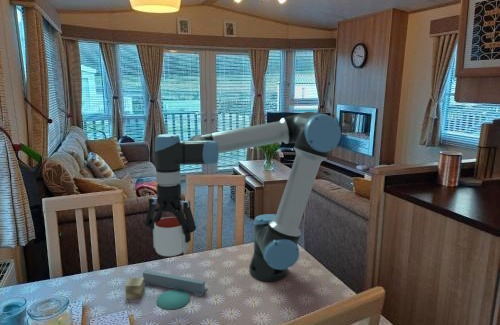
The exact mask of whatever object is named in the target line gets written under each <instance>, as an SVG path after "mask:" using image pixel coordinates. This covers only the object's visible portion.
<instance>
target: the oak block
mask: <svg viewBox="0 0 500 325" xmlns="http://www.w3.org/2000/svg"><path fill="white" fill-rule="evenodd" d="M124 287H125V299H126V300H142V298H143V296H144V294H145V291H146V288H145V287H146V286H145V285H144V278H143V277H130V278H129V279H128V280H127V282H126V284H125V286H124Z"/></svg>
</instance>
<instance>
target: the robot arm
mask: <svg viewBox="0 0 500 325" xmlns="http://www.w3.org/2000/svg"><path fill="white" fill-rule="evenodd" d="M341 134H342V133H341V127H340V125H339V123H338V121H337V120H336V119H335V118H334V117H332V116H331V115H330V114H329V115H328V114H326V113H323V112H314V111H304V112H301V113H297V114H294V115H290V116H285V117H281V118H280V120H278V121H272V122H267V123H262V124H257V125H251V126H246V127H240V128H235V129H229V130H223V131H218V132H217V131H216V132H212V133H207V134H195V135H193V136H191V138H189V140H181V139H180V136H179V135H178V134H175V133H174V134H172V133H164V134H163V133H162V134H158V135H156V136H155V138H154V156H155V158H154V159H155V179H156V180H155V181H156V195H157V197H156V196H153V197H151V198H149V199H148V209H147V213H146V218H145V223H144V226H145V227H149V228H150V235H151V238H153V239H152V241H153V248H154V249H155V232H154V223H155V222H158V221H159V220H160V219H162V218H163V215H164V214H165V213H167V212H168V213H171V214H172V215H173V216H174V217H176V218H177V220H178V222H179V223H180V225H182V229H183V231H184V233H182V248H183V252H182V253H184V254H185V253H186V252H188V251H189V246H190V245H189V243H190V242H191V234H192V233H193V232H195V231H196V230H197V225H196V223H195V219H194V217H193V212H192V208H191V201H190V200H187V201H185V200H182V184H181V180H182V179H181V166H185V165H187V166H189V165H194V166H197V165H198V166H200V165H206V166H209V165H214V164H215V165H216V164H217V163H218V161H219V155H220V154H223V153H230V152H234V151H239V150H246V149H249V148H251V149H252V148H257V147H261V146H266V145H272V144H273V145H274V144H277V143H284V144H286V145H287V144H294V146H293V149H294V151H295V158H294V160H293V163H292V166H291V169H290V173H289V176H288V179H287V181H286V184H285V188H284V190H283V192H282V197H281V199H280V202H279V206H278V207H277V208H278V209H277V212H276V214H274V213H269V214H268V213H265V214H259V215H257V216H255V218H254V224H253V229H254V230H253V232H254V233H253V235H254V236H253V240H254V241H253V255H252V257H251V260H250V263H249V266H248V267H249V274H250V275H251V277H253V278H254V279H257V280H259V281H263V282H276V281H280V280H283V279H284V278H285V277H287V276H288V274H289V273H288V272H289V270H288V269H289V268H291V267H293V266H294V265H295V264H296V263H297V261H298V260H299V257H300V248H299V246H298V243H299V241H300V238H301V235H302V232H301V230H300V229H299V227H300V223H301V221H302V220H303V219H302V218H303V216H304V213H305V210H306V207H307V204H308V201H309V198H310V195H311V192H312V189H313V186H314V184H315V180H316V177H317V175H318V173H319V170H320V167H321V166H320V165H321V163H322V162H323V161H326V160H327V159H328V158H329V155H330V152H331V151H332V150H333V149H335V148H336V147H337V146H338V144H339V143H340V140H341ZM157 204H158V205H159V207H158V209H157ZM156 209H157V212H156ZM155 213H156V214H155Z"/></svg>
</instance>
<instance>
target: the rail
mask: <svg viewBox="0 0 500 325" xmlns="http://www.w3.org/2000/svg"><path fill="white" fill-rule="evenodd" d="M142 278H144V285H145V287H146V286H148V285H153V286H158V287H165V288H170V289H172V290H183V291H186V292H187V293H189V292H190V293H194V296H196V297H201V298H202V296H203V295H204V294H205V292H206V291H207V290H208V287H206V281H205V280H201V279H196V278H191V277H186V276H180V275H176V274H175V275H174V274H168V273H165V272H164V273H163V272H158V271H152V270H148V269H145V270H144V271H143V272H142Z"/></svg>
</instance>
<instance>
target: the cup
mask: <svg viewBox="0 0 500 325" xmlns="http://www.w3.org/2000/svg"><path fill="white" fill-rule="evenodd" d="M154 232H155V248H154V250H155V252H156V253H157V254H158V255H159V256H163V257H174V256H175V257H176V256H178V255H180V254H182V253H183V248H182V233H184V231H183V229H182V225H180V223H179V222H178V220H177V218H176V216H167V217H166V216H165V217H161V219H160V220H159V221H158V222H155V223H154Z"/></svg>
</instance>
